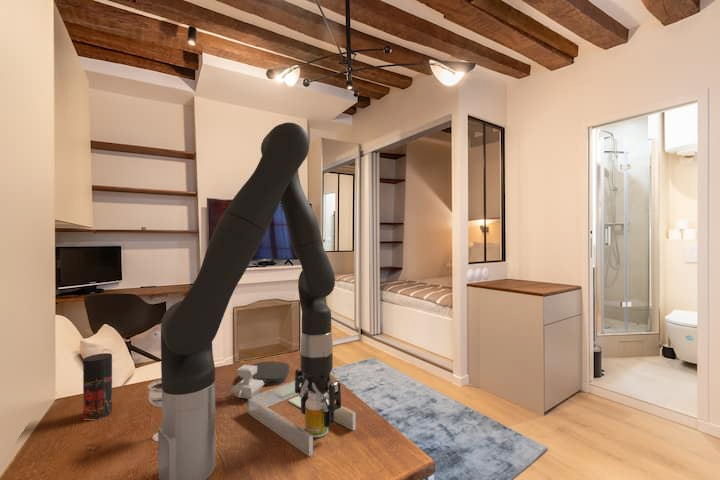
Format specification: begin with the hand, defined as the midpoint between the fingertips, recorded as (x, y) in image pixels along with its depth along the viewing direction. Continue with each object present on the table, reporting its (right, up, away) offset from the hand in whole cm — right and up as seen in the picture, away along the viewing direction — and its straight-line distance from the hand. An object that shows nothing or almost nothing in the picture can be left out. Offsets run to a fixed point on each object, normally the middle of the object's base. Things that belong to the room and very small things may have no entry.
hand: (316, 419), depth 79 cm
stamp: (-22, -3, +18) cm, 29 cm away
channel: (-4, -3, +6) cm, 8 cm away
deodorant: (-58, -3, +8) cm, 59 cm away
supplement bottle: (0, -3, 0) cm, 3 cm away
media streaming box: (-21, -4, +33) cm, 39 cm away
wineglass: (-35, -3, -1) cm, 35 cm away
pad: (-4, -3, +14) cm, 15 cm away
